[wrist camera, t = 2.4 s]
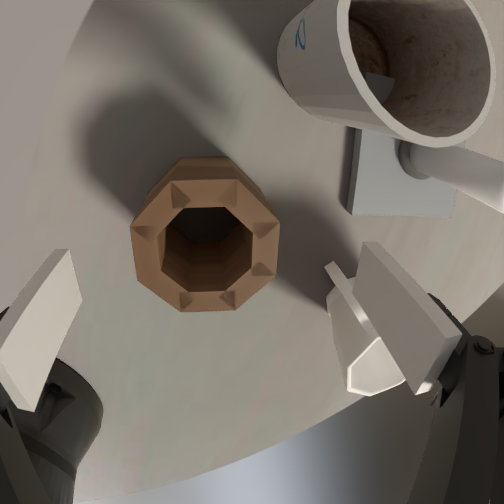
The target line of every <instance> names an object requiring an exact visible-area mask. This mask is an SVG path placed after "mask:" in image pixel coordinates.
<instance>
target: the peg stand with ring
mask: <svg viewBox="0 0 504 504" xmlns="http://www.w3.org/2000/svg"><path fill="white" fill-rule="evenodd" d="M361 74H362V76H363V78H364V80H365V82H366V84H367V86H368V88H369V89H370V91H371V92H372V93H373V95H374V96H375V97H376V99H377V100H378V102H379V103H380V104H381V105H382V104H383V103H384V102H385V100H386V99H387V98H388V96H389V95H390V93H391V90H392V88H393V86H394V81H395V79H394V78H390V77H386V76H382V75H378V74H373V73H369V72H362V73H361ZM464 148H465V140H464V141H463V142H461V143H458V144H455V145H453V146H450V147H439V148H434V147H428V146H422V145H418V144H415V143H411V142H408V141H405V140H401V139H397V138H394V137H390V136H386V135H383V134H379V133H375V132H371V131H367V130H362V129H358V128H356V130H355V141H354V151H353V160H352V169H351V177H350V185H349V193H348V200H347V207H346V211H347V212H349V213H350V214H351V215H368V216H410V217H439V218H451V216H452V212H453V207H454V203H455V198H456V194H457V189H458V190H460V191H462V192H464V193H466V194H468V195H470V196H472V197H474V198H476V199H477V200H479V201H481V202H483V203H485V204H487V205H489V206H490V207H492V208H494V209H496V210H498V211H499V212H501V213H503V214H504V163H503V162H501V161H498V160H496V159H493V158H490V157H487V156H485V155H482V154H479V153H476V152H473V151H470V150H467V149H464Z"/></svg>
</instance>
